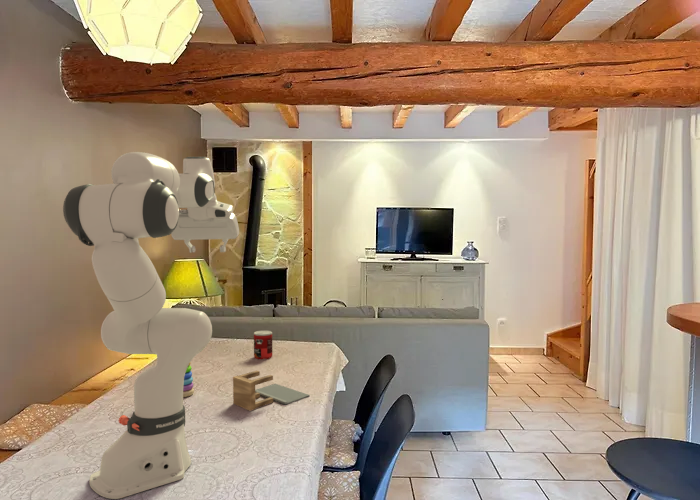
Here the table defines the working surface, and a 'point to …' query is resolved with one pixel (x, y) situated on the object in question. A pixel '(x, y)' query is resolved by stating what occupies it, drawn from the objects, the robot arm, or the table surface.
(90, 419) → the table surface
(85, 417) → the table surface
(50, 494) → the table surface
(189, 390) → the stacking toy
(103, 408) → the table surface
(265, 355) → the canned food
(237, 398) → the stool
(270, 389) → the mat
